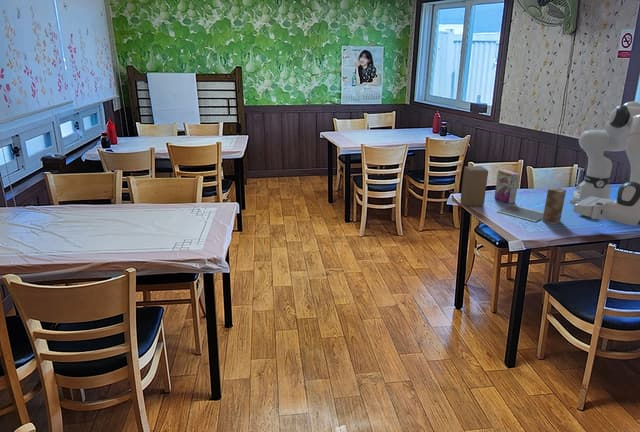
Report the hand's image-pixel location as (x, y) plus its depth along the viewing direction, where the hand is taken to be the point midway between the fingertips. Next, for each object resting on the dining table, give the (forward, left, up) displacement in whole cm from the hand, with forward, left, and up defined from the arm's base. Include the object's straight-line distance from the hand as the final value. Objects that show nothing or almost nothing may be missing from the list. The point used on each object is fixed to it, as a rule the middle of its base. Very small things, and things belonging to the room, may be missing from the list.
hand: (571, 201), depth 213 cm
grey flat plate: (-12, -17, -12) cm, 24 cm away
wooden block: (-22, -42, -12) cm, 49 cm away
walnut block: (-4, -6, -12) cm, 14 cm away
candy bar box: (-33, -24, -12) cm, 42 cm away
